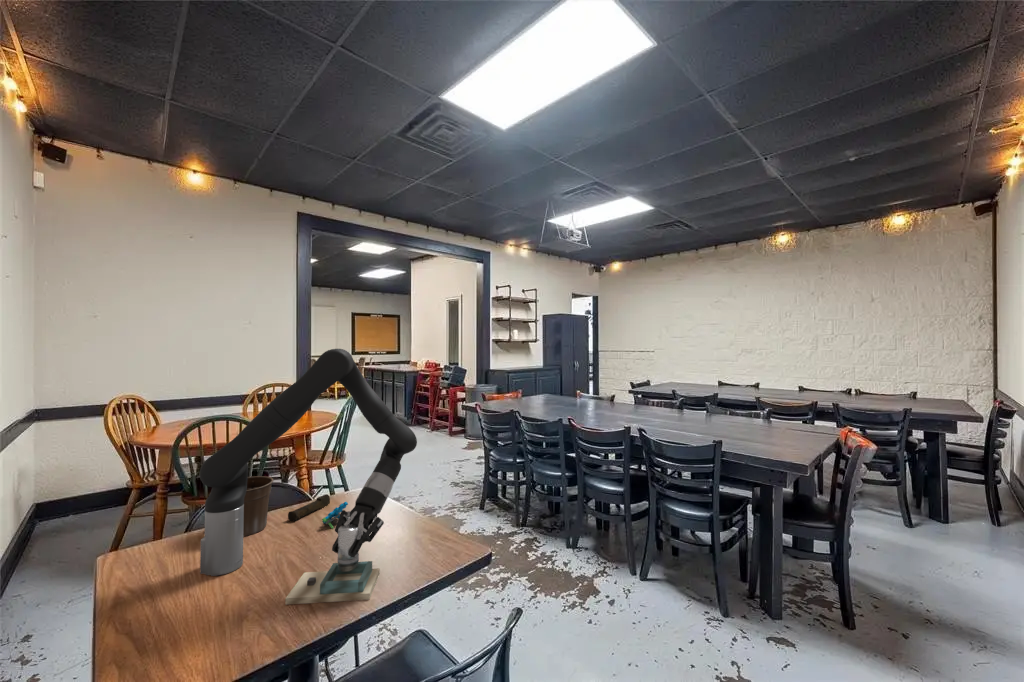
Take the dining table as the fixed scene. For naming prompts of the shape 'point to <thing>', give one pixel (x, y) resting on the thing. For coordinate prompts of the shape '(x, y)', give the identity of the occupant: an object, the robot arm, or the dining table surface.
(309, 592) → the beige board with frame
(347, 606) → the dining table surface
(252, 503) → the plant pot
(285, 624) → the dining table surface
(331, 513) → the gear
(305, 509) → the dark brown rod
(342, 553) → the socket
